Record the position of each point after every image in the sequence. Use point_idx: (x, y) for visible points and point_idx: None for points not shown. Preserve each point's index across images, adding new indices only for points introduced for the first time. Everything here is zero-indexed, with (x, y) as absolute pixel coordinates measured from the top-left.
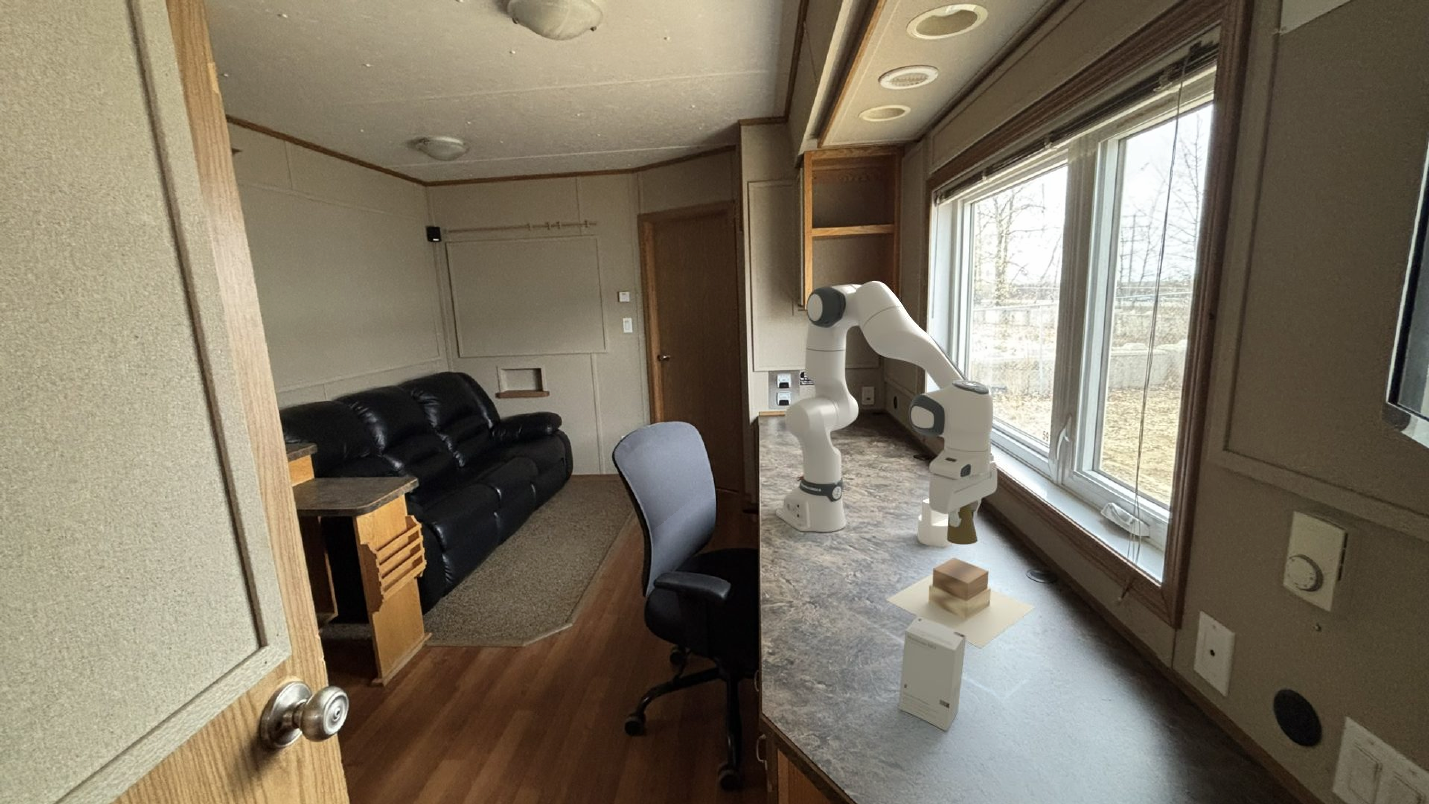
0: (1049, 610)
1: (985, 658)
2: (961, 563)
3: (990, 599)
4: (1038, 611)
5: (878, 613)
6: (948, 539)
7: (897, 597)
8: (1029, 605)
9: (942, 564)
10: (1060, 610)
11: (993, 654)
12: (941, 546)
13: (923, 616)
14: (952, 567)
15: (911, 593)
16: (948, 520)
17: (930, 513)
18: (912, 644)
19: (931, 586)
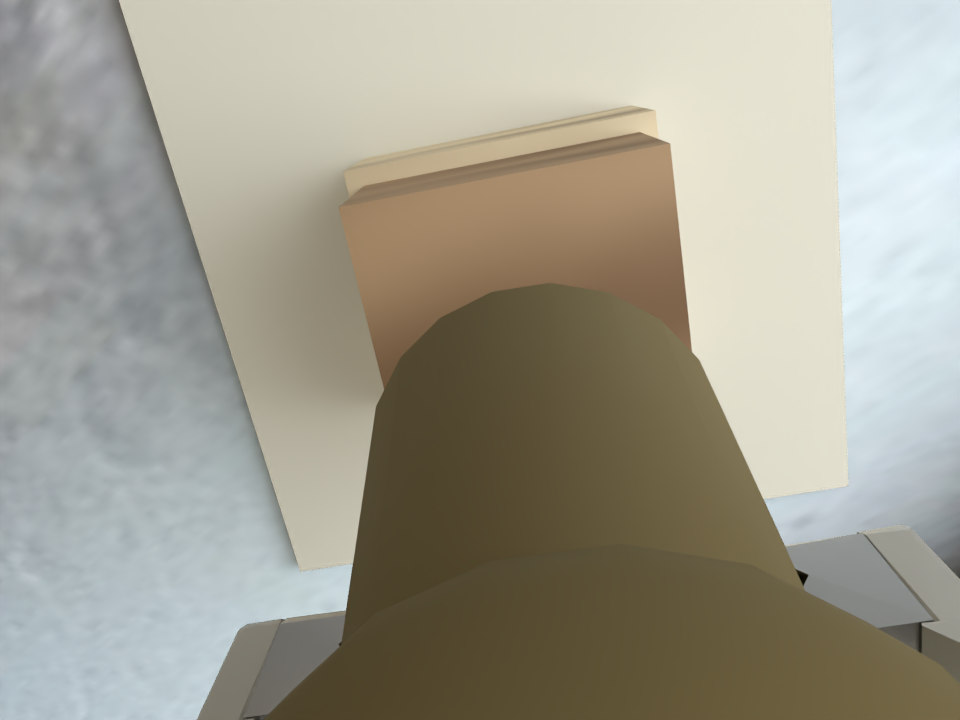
0: (898, 511)
1: (286, 600)
2: (630, 258)
3: (720, 322)
4: (842, 492)
5: (10, 78)
6: (381, 400)
7: (211, 9)
8: (841, 461)
9: (470, 189)
10: (943, 534)
11: (339, 598)
12: None
13: (225, 263)
14: (506, 270)
15: (335, 17)
16: (388, 471)
17: None
18: None
19: (349, 190)
